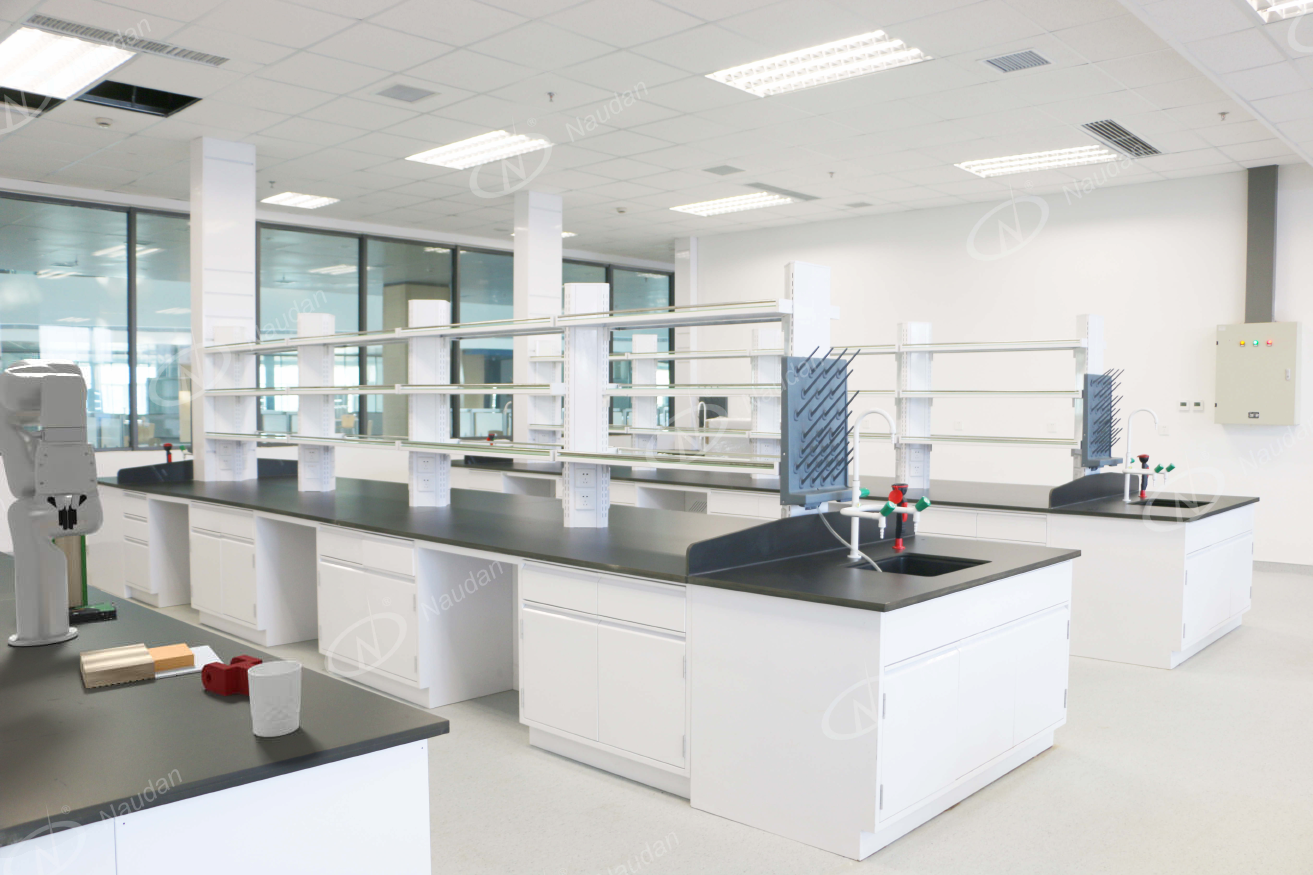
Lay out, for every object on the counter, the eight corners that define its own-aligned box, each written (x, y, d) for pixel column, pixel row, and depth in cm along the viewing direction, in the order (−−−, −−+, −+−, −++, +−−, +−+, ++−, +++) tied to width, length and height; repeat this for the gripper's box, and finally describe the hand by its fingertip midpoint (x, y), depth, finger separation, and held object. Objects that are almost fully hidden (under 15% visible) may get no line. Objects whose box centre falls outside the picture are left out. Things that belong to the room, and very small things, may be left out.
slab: (146, 659, 180) (146, 648, 180) (185, 653, 184) (184, 643, 184) (154, 671, 172) (153, 660, 172) (194, 665, 176) (194, 654, 176)
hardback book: (88, 609, 225) (84, 514, 224) (52, 614, 220) (49, 517, 219) (72, 598, 238) (69, 508, 237) (38, 603, 233) (35, 511, 232)
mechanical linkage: (201, 688, 164) (200, 661, 164) (239, 678, 170) (238, 652, 169) (250, 705, 155) (249, 677, 154) (288, 694, 161) (287, 667, 160)
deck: (80, 667, 176) (79, 652, 176) (144, 657, 183) (143, 643, 183) (86, 688, 163) (85, 672, 163) (154, 677, 170) (154, 661, 170)
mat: (143, 656, 184) (143, 654, 184) (208, 646, 191) (208, 645, 191) (155, 678, 169) (155, 676, 169) (225, 667, 176) (225, 665, 176)
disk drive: (43, 630, 208) (118, 620, 216) (42, 618, 208) (117, 608, 216) (42, 621, 216) (113, 611, 225) (41, 610, 216) (113, 600, 225)
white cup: (313, 723, 145) (312, 662, 145) (278, 741, 138) (276, 677, 138) (274, 718, 148) (273, 658, 148) (237, 735, 141) (236, 672, 140)
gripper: (18, 438, 170) (22, 534, 170) (110, 436, 178) (113, 527, 179) (18, 437, 176) (21, 530, 176) (107, 434, 184) (110, 523, 185)
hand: (68, 528), depth 178 cm, fingers closed
